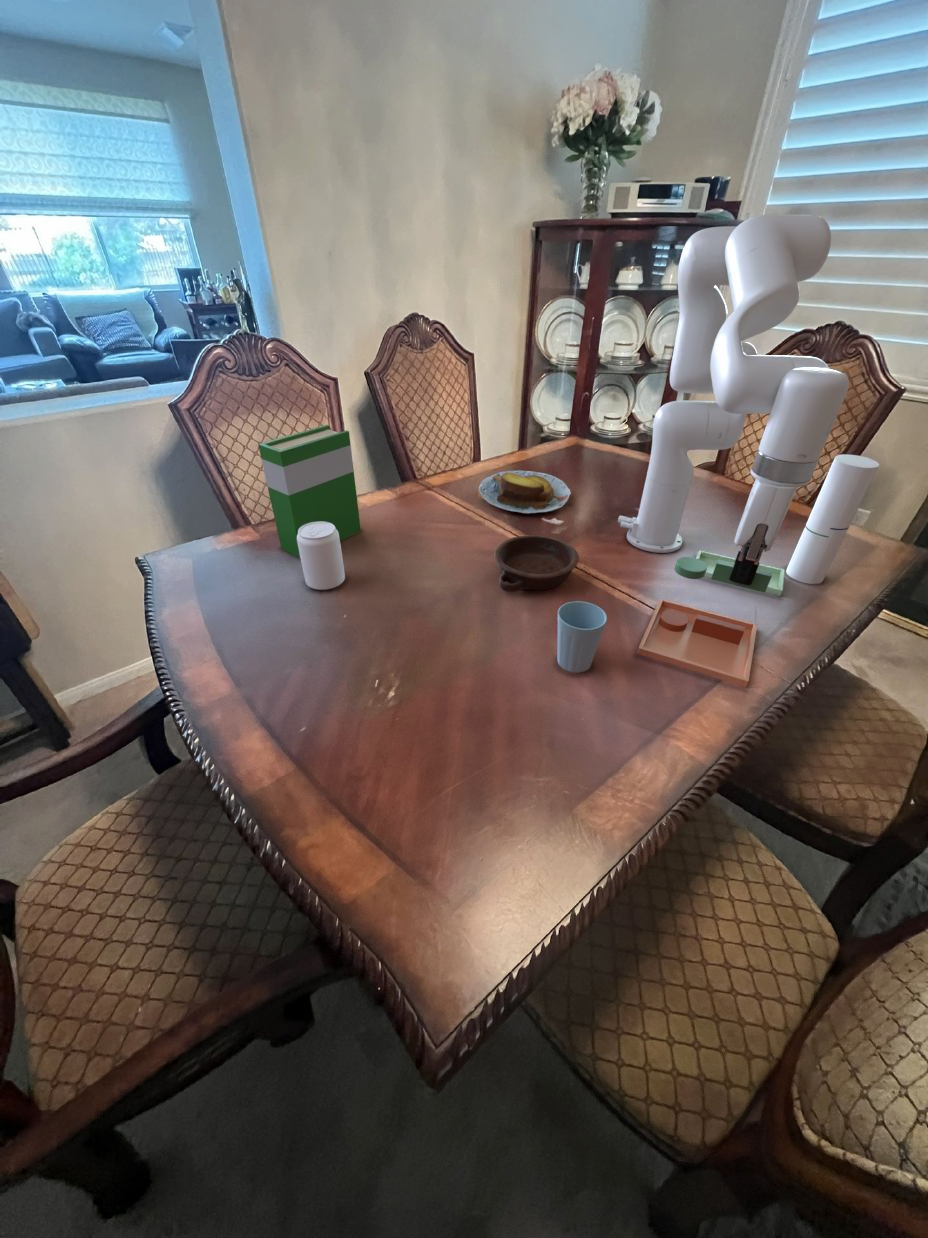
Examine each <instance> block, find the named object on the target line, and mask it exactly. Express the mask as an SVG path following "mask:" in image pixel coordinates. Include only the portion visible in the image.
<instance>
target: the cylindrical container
mask: <svg viewBox="0 0 928 1238" xmlns="http://www.w3.org/2000/svg"><path fill="white" fill-rule="evenodd" d="M879 467H880V463H879V462H878V461H877V460H875V459H873V458H870V457H867V456H864V455H863V456H862V455H856V454H847V453H846V454H844V453H843V454H837V455H835V456H834V459H833V461H832V463H831V466H830V467H829V470H828V473H827V475H826V477H825V479H824V482H823V484H822V486H821V489H820V491H819V493H818V495H817V498H816V500H815V503H814V505H813V507H812V510H811V512H810V514H809V517H808V519H807V521H806V523H805V526H804V528H803V531H802V533H801V535H800V538H799V540H798V542H797V544H796V547H795V549H794V552H793V553H792V556H791V558H790V561H789V563H788V565H787V568H786V570H785V572H786V575H788V577H790V578H791V579H793V580H795V581H797V582H800V583H802V584H803V583H804V584H808V585H818V584H822V583H823V582H824V579H825V578H826V576H827V574H828V571H829V570H830V568H831V566H832V563H833V562H834V559H835V557H836V556H837V553H838V552H839V549H840V547H841V545H842V543H843V541H844V538H845V537H846V534H847V532H848V531H849V529H850V526H851V524H852V522H853V520H854V519H855V516H856V514H857V512H858V510H859V508H860V507H861V506H860V505H861V504H862V502H863V500H864V498H865V496H866V494H867V492H868V489H869V487H870V485H871V483H872V481H873V479H874V477H875V475H876V473H877V471H878V469H879Z"/></svg>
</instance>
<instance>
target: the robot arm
mask: <svg viewBox="0 0 928 1238" xmlns="http://www.w3.org/2000/svg"><path fill="white" fill-rule="evenodd" d="M831 245H832V233H831V228H830V226H829V223H828V222H827V220H826V219H825V218H823V217H822V216H819V215H816V214H781V213H779V214H775V213H774V214H773V213H772V214H770V213H769V214H760V215H755V216H752V217H749V218H747V219H745V220H744V221H742V222H741V223H739V224H738V225H737V226H735V225H727V226H725V225H724V226H723V225H722V226H713V227H707V228H703V229H700V230H698V231H695V232H694V233H693V234H692V235H690V237H689V238H687V240H686V242H685V244H684V246H683V249H682V251H681V254H680V259H679V262H678V269H677V292H678V293H677V294H678V303H679V304H678V305H679V315H678V316H679V317H678V324H677V327H676V333H675V340H674V346H673V352H672V358H671V364H670V370H669V384H670V387H671V388H672V390H674V391H675V392H678V393H682V394H703V395H704V394H707V395H709V394H710V395H714V400H683V399H681V400H673V401H669V402H666V403H664V404H663V405H661V406H660V407H659V408H658V409H657V411H656V412H655V415H654V418H653V423H652V424H653V425H652V441H651V451H650V456H649V462H648V467H647V472H646V478H645V482H644V486H643V491H642V495H641V500H640V503H639V508H638V514H637V517H635V516H632V517H628V516H624V515H619V516H618V518H617V524H619V528H621V529H627V532H626V540H627V541H628V542H629V544H631V545H632V546H634V547H635V548H637V549H640V550H642V551H644V552H649V553H654V554H655V553H658V554H667V553H672V552H675V551H679V549H680V548H681V547H682V544H683V538H682V536H681V535H680V534H679V529H680V525H681V521H682V519H683V514H684V510H685V507H686V504H687V499H688V496H689V492H690V489H691V486H692V481H693V477H694V472H695V470H694V465H693V462H692V460H691V459H690V457H689V455H688V451H697V450H700V451H722V450H723V451H724V450H728V449H731V448H732V447H734V446H736V444H737V443H738V442H739V440H740V438H741V436H742V435H743V434H742V433H743V430H744V428H745V423H746V419H747V415H755V414H756V415H769V417H768V419H767V422H766V425H765V428H764V432H763V435H762V437H761V439H760V443H759V446H758V449H757V450H756V454H755V457H754V461H753V464H752V466H751V469H750V471H749V472H750V475H751V476H752V477H753V478H754V479H755V480H754V482H753V484H752V487H751V489H750V493H749V495H748V497H747V498H748V499H747V501H746V504H745V506H744V509H743V512H742V515H741V518H740V521H739V523H738V526H737V530H736V534H735V537H734V541H733V542H734V544H735V546H736V547H738V546H741V548H740V550H738V552H737V555H736V557H735V558H736V560H735V564H734V567H733V570H732V573H731V575H730V579H729V580H730V581H732V582H736V583H740V584H744V585H751V584H752V581H753V579H754V576H755V574H756V571H757V569H758V566H759V564H760V561H761V558H762V555H763V552H764V553H767V552H769V551H771V549H772V547H773V545H774V542H775V540H776V538H777V537H778V534H779V531H780V530H781V527H782V525H783V523H784V521H785V518H786V515H787V513H788V512H789V508H790V507H791V504H792V503H793V498H794V497H795V494H796V493H797V492H796V491H797V490H798V488H802V487H805V486H808V485H809V484H810V483H811V480H812V477H813V475H814V473H815V470H816V468H817V465H818V463H819V461H820V458H821V455H822V453H823V450H824V448H825V446H826V443H827V441H828V439H829V436H830V434H831V432H832V429H833V426H834V425H835V422H836V420H837V418H838V415H839V413H840V410H841V408H842V405H843V403H844V400H845V398H846V396H847V393H848V392H849V391H848V390H849V387H850V379H849V377H848V376H847V374H846V373H843V372H841V371H839V370H837V369H832V368H830V367H829V366H828V364H827V363H826V362H825V361H824V360H823V359H821V358H818V357H816V356H808V355H807V356H806V355H785V354H783V355H781V354H780V355H777V354H773V355H772V354H771V355H769V354H758V351H757V349H756V347H755V345H753V344H752V343H750V342H748V341H746V340H749V339H750V338H753V337H755V336H758V335H760V334H763V333H765V332H767V331H769V330H771V329H773V328H775V327H777V326H778V325H780V324H782V323H783V322H784V321H785V320H787V318H789V317H790V315H792V313H793V312H794V311H795V310H796V307H797V306H798V304H799V301H800V297H801V292H800V291H801V290H800V289H801V288H800V286H799V283H802V282H806V281H808V280H810V279H812V278H813V277H815V276H816V275H817V274H818V273H819V272H820V270H821V269H822V268H823V266H824V265H825V263H826V262H827V258H828V256H829V254H830V250H831ZM718 286H729V291H730V296H731V302H732V308H733V309H732V310H733V311H732V312H731V313H730V315H729V316H728V307H727V305H726V301H725V299H724V297H723V294H722V293H721V291H720V289H719V288H718Z"/></svg>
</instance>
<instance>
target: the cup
mask: <svg viewBox="0 0 928 1238" xmlns="http://www.w3.org/2000/svg"><path fill="white" fill-rule="evenodd" d="M607 616H608V615H607V613H606V611H605V610H604V609H602V608H601V607H600V606H598V605H597V604H594V603H591V602H587V601H580V600H579V601H578V600H576V601H569V602H566V603H564V604H562V605H561V606H560V607H559V608H558V610H557V650H556V651H557V653H556V655H557V660H556V661H557V663H558V665H559V667H561V668H562V669H563V670H565V671H568V672H569V673H576V674H577V673H578V674H579V673H584V672H586V671H588V670H589V669H590V668H591V667H592V663H593V661H594V657H595V655H596V653H597V649H598V646H599V643H600V640H601V638H602V635H603V632H604V630H605V627H606V624H607V621H608V617H607Z"/></svg>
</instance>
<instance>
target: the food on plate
mask: <svg viewBox="0 0 928 1238" xmlns="http://www.w3.org/2000/svg"><path fill="white" fill-rule="evenodd" d="M477 495H478V498H479V499H480V498H481V500H484V502H486V503H487V504H489V505H491V506H493V507H496V508H497V509H502V511H503V510H505V511H510V512H513V513H514V512H517V513H521V514H537V513H548V512H553V511H555V510H558V509H559V510H560V509H561V508H563V507H564V505H565V504H566V503H567V502H568V500H569V498H570V495H572V490H571V489H570V487H568V485H567V484H566V482H564V481H563V480H562V479H560V478H558V477H557V476H554V475H551V474H548V473H544V472H540V471H539V472H537V471H533V470H520V469H519V470H505V471H499V472H497V473H492V474H491V475H489V476H486V477H485V478H484V479H483V480H482V481H480V483H479V484H478V486H477Z"/></svg>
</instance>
